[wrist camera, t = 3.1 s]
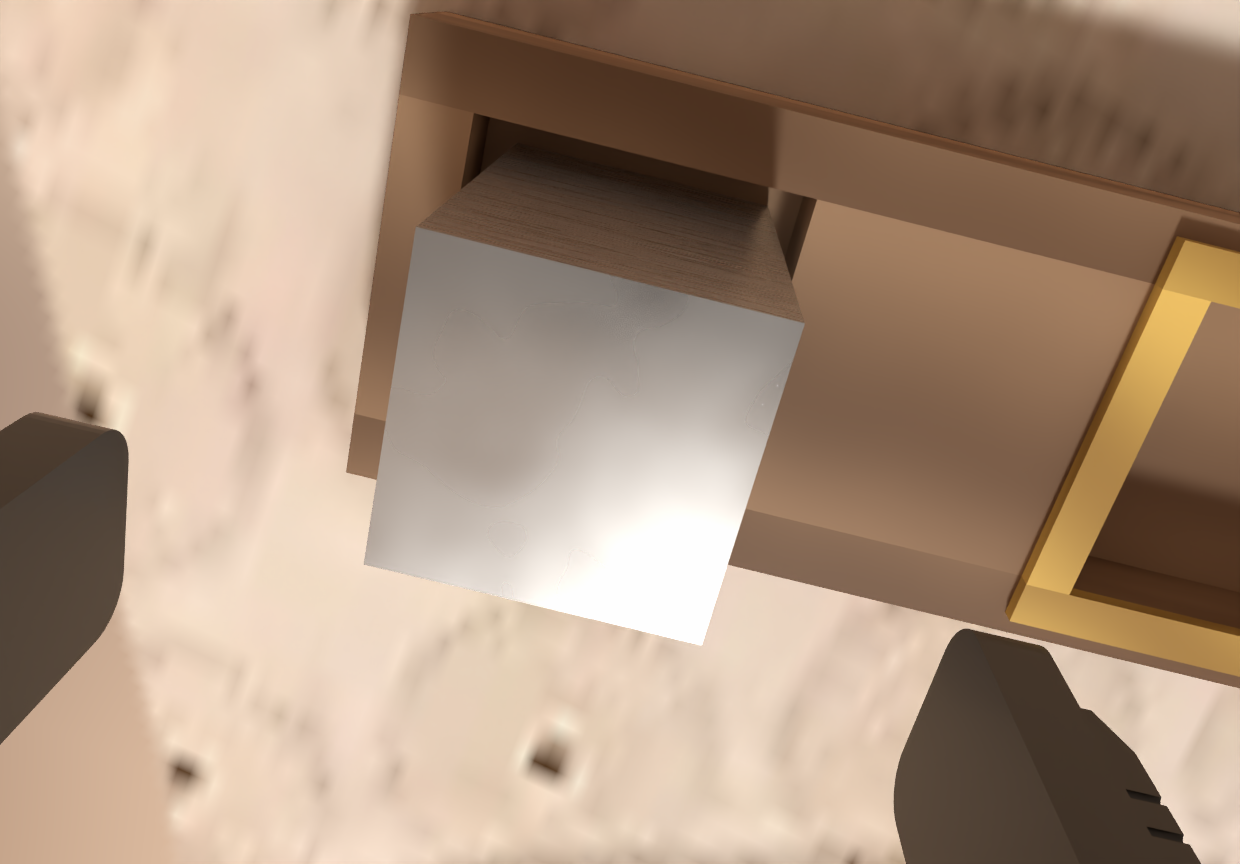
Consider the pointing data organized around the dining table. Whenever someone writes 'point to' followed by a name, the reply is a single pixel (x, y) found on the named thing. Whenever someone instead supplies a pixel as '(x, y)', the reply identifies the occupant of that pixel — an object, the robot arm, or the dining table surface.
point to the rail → (908, 344)
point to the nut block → (583, 391)
